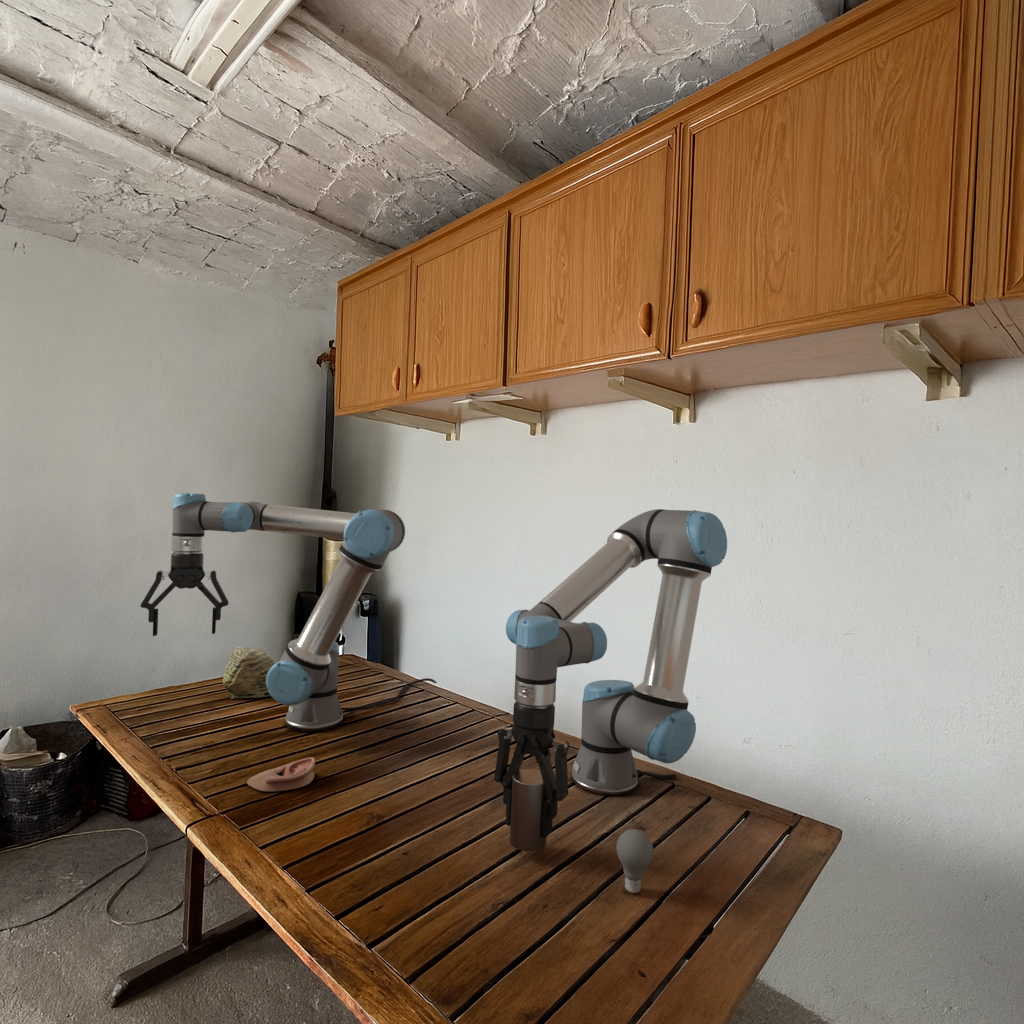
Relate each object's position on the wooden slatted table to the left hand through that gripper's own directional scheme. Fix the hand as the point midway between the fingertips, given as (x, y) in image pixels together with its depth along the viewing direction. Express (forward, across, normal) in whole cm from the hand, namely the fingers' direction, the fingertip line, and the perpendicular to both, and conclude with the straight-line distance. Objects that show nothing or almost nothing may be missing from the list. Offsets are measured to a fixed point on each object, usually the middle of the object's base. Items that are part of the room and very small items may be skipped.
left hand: (184, 633), depth 165 cm
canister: (+24, +63, -80) cm, 105 cm away
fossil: (+26, +18, +28) cm, 42 cm away
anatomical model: (+26, +23, -37) cm, 51 cm away
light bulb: (+26, +75, -96) cm, 125 cm away
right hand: (+21, +63, -80) cm, 104 cm away
